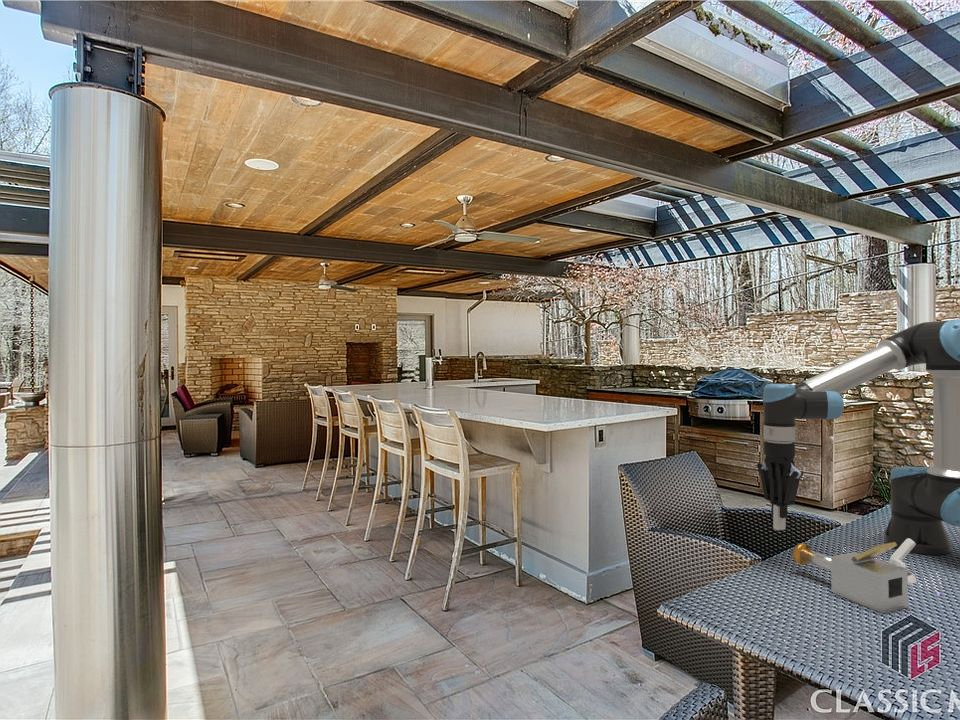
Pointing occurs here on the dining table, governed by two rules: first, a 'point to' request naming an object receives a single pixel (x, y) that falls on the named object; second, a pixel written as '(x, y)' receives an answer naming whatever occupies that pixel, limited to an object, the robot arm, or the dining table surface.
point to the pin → (810, 557)
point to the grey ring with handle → (900, 555)
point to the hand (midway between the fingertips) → (779, 528)
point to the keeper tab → (873, 552)
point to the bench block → (870, 582)
